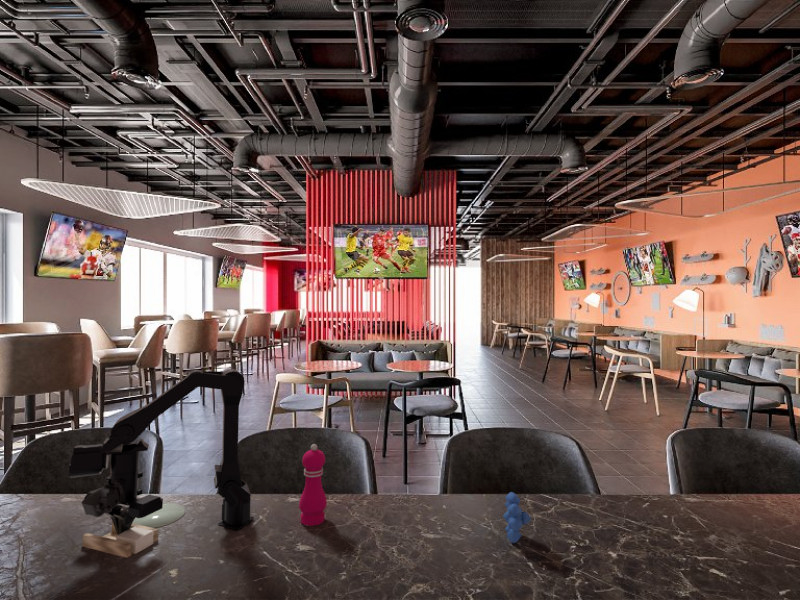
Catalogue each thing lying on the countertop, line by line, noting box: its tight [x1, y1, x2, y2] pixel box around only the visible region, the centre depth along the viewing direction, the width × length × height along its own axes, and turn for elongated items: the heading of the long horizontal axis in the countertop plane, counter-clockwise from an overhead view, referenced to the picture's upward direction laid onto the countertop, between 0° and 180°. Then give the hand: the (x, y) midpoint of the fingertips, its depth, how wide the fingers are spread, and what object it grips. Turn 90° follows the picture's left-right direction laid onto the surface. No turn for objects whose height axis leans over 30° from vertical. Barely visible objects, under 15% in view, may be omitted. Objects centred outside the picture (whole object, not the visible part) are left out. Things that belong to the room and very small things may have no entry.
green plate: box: [133, 503, 186, 529], centre depth 114 cm, size 14×14×1 cm
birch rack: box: [81, 521, 159, 558], centre depth 100 cm, size 14×8×3 cm, turn 71°
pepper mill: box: [298, 443, 328, 527], centre depth 113 cm, size 7×7×20 cm
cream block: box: [116, 527, 154, 555], centre depth 99 cm, size 6×4×3 cm
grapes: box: [502, 491, 532, 544], centre depth 103 cm, size 12×7×12 cm, turn 171°
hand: (121, 538), depth 100 cm, fingers closed
